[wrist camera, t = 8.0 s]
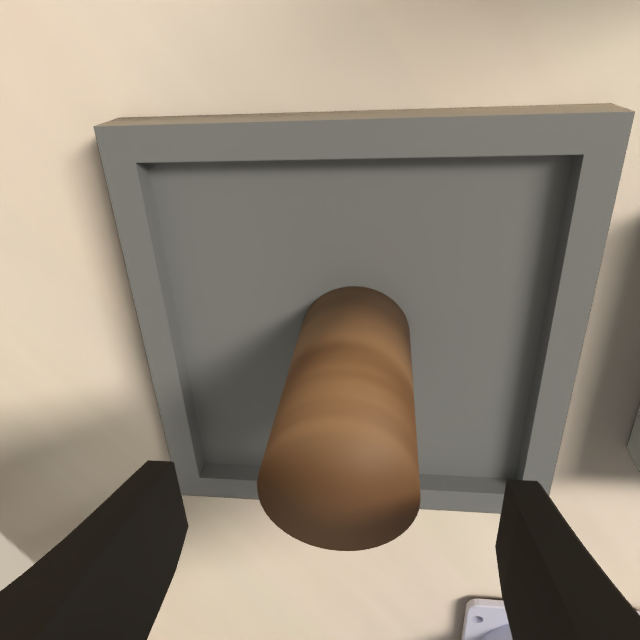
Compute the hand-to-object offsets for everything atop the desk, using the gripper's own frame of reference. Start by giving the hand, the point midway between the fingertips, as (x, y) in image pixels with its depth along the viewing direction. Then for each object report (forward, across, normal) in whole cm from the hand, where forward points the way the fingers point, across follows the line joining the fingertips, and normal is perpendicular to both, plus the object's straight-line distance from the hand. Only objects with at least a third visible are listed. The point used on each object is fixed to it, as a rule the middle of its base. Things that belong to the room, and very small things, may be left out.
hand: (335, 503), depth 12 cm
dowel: (+7, 0, 0) cm, 7 cm away
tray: (+8, 0, 0) cm, 8 cm away
